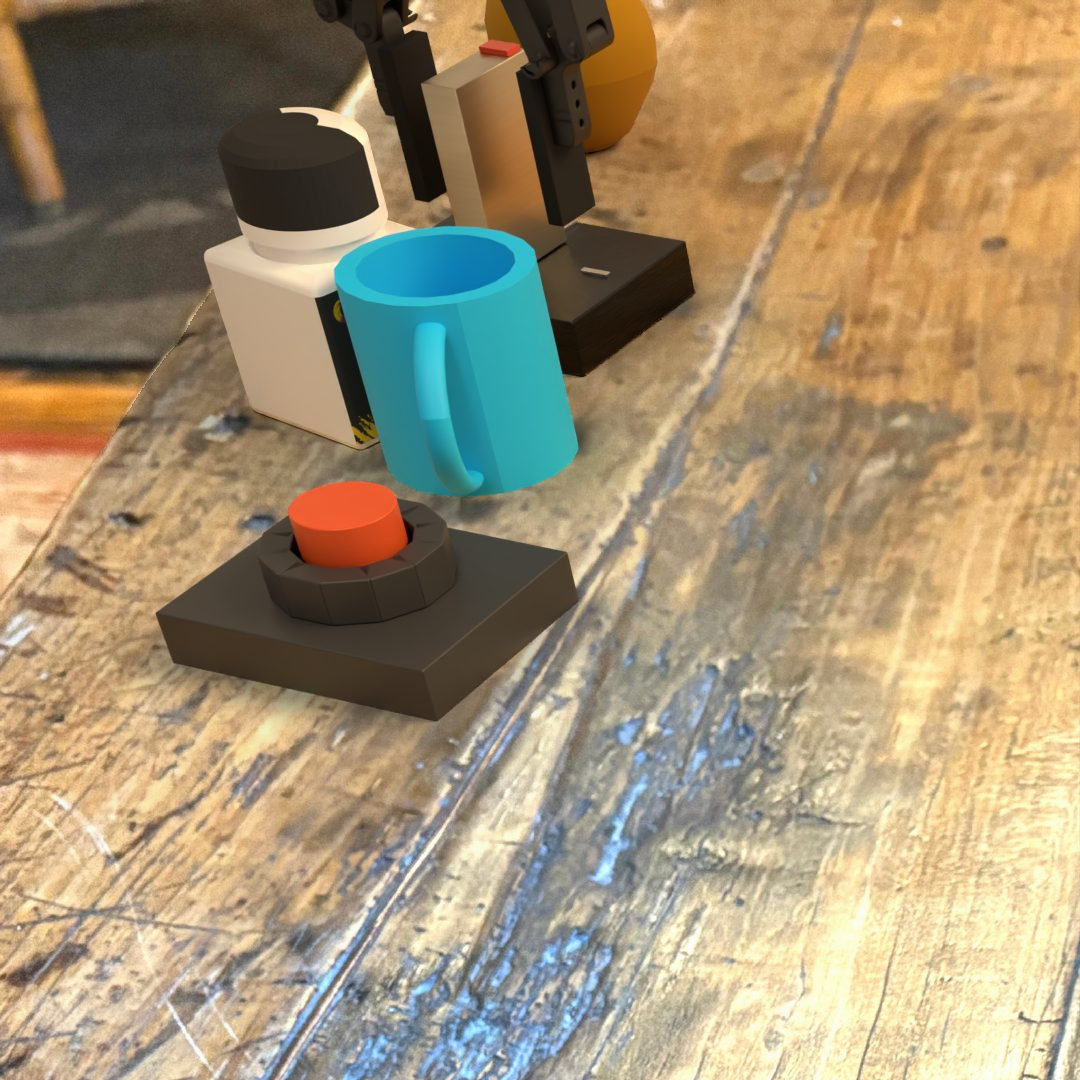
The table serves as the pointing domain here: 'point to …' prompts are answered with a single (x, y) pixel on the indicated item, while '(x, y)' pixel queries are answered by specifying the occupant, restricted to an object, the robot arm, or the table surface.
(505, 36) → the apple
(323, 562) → the button
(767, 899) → the table surface
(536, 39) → the robot arm
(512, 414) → the mug
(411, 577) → the button box
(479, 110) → the tilted slab handle
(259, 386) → the medicine bottle
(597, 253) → the dial panel
